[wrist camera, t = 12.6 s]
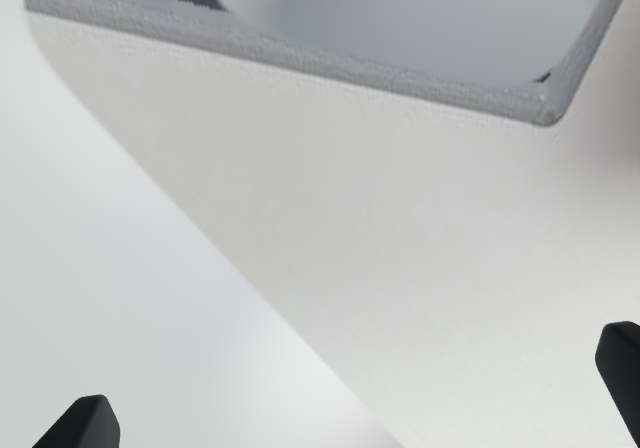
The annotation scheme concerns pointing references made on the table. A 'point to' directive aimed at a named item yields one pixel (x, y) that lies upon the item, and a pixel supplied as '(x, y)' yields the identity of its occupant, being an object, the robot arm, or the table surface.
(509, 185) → the table surface
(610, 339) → the robot arm
